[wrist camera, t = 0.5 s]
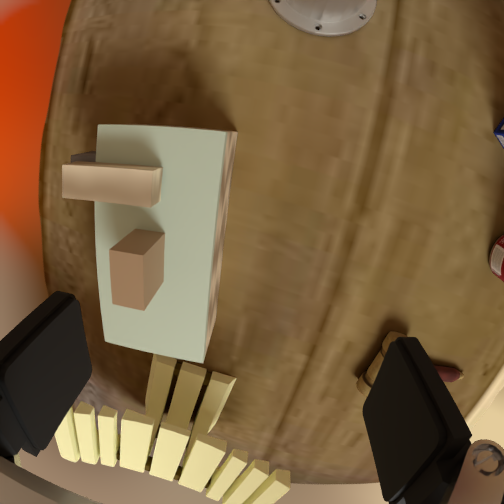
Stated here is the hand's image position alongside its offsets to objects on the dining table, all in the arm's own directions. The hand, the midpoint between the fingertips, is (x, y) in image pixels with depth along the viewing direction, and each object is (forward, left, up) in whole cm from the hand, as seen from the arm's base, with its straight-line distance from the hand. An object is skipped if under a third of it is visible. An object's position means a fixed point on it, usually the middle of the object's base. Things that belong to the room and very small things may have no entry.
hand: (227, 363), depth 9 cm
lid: (+6, -9, -21) cm, 24 cm away
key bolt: (-1, -13, -19) cm, 23 cm away
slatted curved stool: (+35, -7, -29) cm, 46 cm away
